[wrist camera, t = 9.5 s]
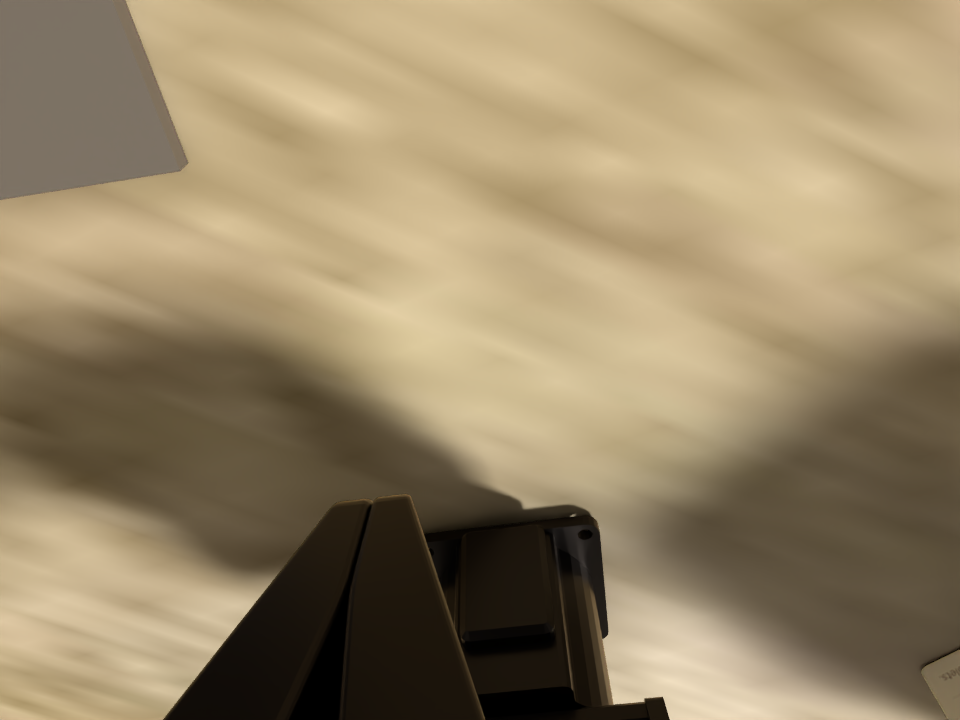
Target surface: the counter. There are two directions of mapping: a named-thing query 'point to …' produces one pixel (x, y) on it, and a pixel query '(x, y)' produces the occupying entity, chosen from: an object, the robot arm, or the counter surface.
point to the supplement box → (945, 683)
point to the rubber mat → (78, 99)
